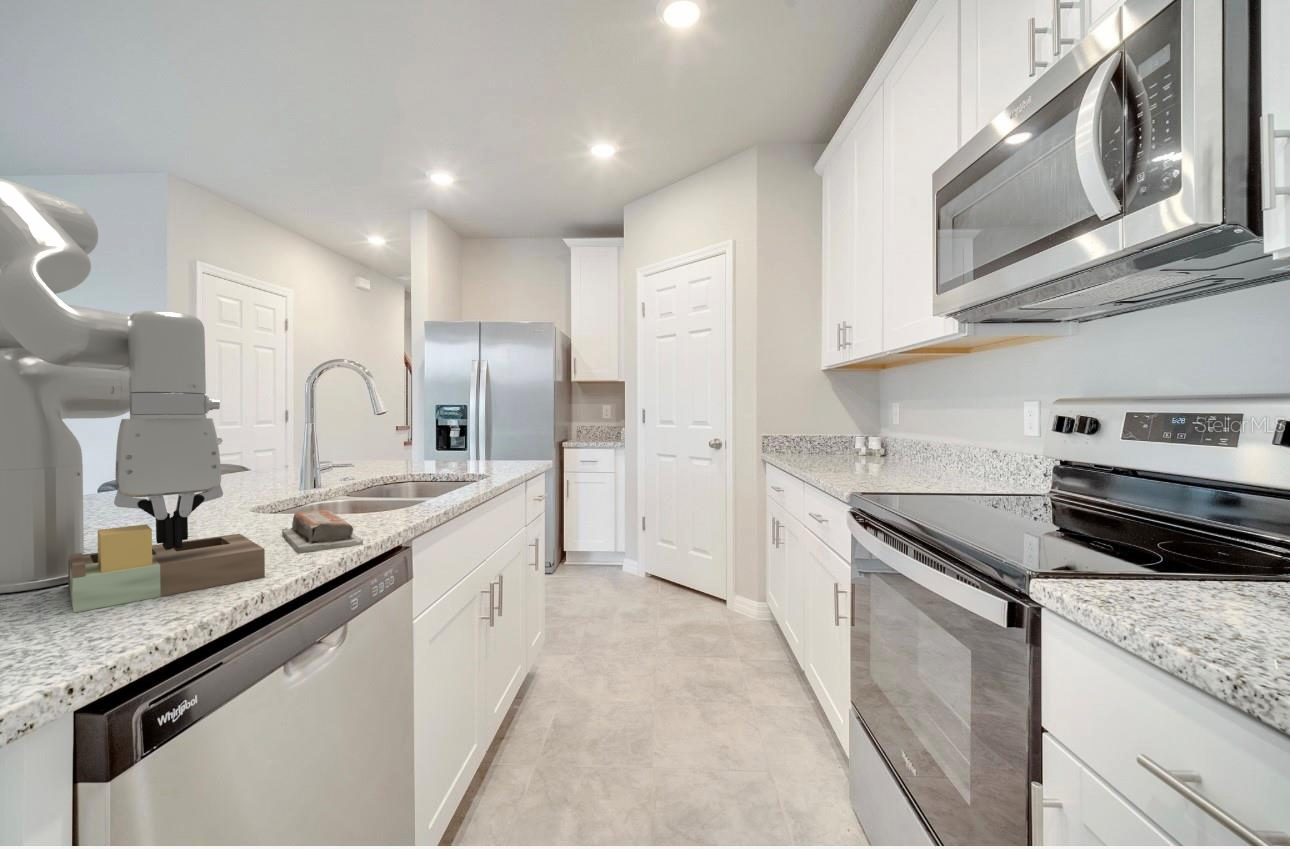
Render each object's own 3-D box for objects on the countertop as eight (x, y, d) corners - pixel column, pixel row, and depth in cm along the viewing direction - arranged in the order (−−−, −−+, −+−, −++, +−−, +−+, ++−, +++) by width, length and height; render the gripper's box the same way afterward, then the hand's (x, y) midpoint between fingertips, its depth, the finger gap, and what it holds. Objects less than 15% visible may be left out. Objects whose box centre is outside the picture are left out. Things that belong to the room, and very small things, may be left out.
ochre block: (98, 565, 67) (97, 529, 67) (147, 558, 70) (146, 524, 70) (101, 572, 64) (100, 535, 64) (152, 565, 68) (151, 529, 67)
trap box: (68, 586, 71) (67, 545, 71) (239, 558, 85) (239, 524, 85) (73, 612, 62) (72, 565, 62) (264, 576, 76) (264, 538, 76)
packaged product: (280, 512, 102) (339, 506, 108) (280, 537, 102) (339, 530, 109) (297, 527, 88) (363, 519, 95) (297, 556, 88) (363, 547, 95)
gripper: (232, 408, 79) (235, 533, 79) (85, 408, 67) (88, 554, 68) (246, 407, 74) (248, 541, 74) (89, 407, 62) (93, 564, 63)
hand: (172, 547), depth 71 cm, fingers closed
